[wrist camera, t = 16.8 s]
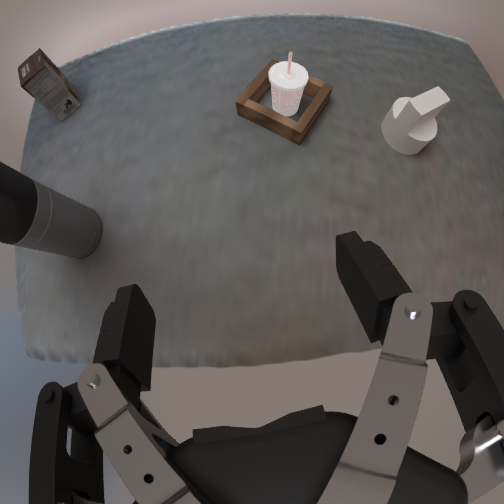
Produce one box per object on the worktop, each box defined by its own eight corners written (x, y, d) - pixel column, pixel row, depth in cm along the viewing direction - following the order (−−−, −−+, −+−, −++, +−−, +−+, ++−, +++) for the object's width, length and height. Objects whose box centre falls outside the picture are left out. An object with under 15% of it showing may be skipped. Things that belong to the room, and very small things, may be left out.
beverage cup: (308, 102, 47) (319, 50, 33) (292, 125, 47) (300, 73, 33) (278, 88, 48) (281, 34, 34) (261, 110, 47) (260, 56, 33)
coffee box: (53, 102, 51) (17, 67, 35) (74, 84, 51) (40, 46, 35) (61, 123, 50) (19, 87, 34) (82, 104, 50) (44, 63, 34)
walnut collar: (237, 114, 47) (235, 101, 43) (271, 72, 48) (272, 59, 44) (298, 144, 46) (301, 133, 42) (328, 99, 47) (332, 86, 43)
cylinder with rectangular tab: (402, 163, 45) (434, 132, 33) (371, 123, 46) (394, 85, 34) (430, 144, 45) (462, 114, 34) (402, 108, 47) (426, 72, 35)
